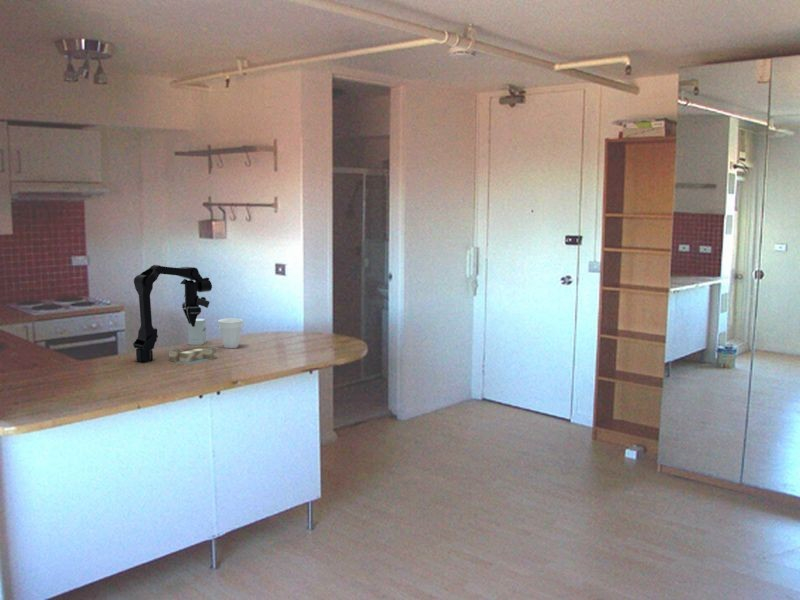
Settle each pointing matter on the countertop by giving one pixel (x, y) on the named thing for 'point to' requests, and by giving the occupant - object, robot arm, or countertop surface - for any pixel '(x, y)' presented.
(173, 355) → the number block
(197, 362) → the mat
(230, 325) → the cup
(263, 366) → the countertop surface
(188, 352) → the plain bar
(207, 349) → the number block
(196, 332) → the supplement box
